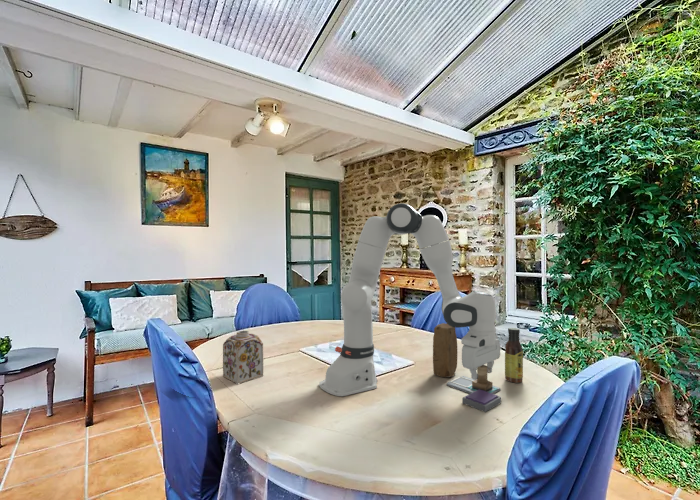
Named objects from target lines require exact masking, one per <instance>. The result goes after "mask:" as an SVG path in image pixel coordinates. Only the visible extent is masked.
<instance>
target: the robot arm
mask: <svg viewBox="0 0 700 500" xmlns="http://www.w3.org/2000/svg"><path fill="white" fill-rule="evenodd" d="M407 234H409V235H410V234H411V235H412V236H414V238H415V240H416V242H417V246H418V248H419V252H420V253H421V256H422V259H423V261H424V262H425V264H426V267H427V268H428V269H429V270H430V271H431V272H432V274H433V275H434V277H435V278H436V280H437V284H438V287H439V290H440V293H441V297H442V302H441V312H442V317H443V319H444V321H445V324H448V325H450V326H452V327H455V329H456V328H459V329H460V328H469V329H468V331H467V332H466V334H465V335H464V336H463V337H461V345H462V348H461V365H462V367H463V368H465V369H468V370H469V372H470V374H471V377H470V378H472V379H474V380H476V379H478V374H477V367H480V366H482V365H486V366H487V374H491V373H493V367H494V365H495V361H496V360H499V359H500V357H501V343H500V340H499V337H498V335H497V333H496V331H497V330H496V325H495V322H496V318H497V312H496V311H497V307H496V301H495V298H494V296H493V295H491V294H490V293H488V292H485V291H480V290H473V291H471V292H470V293H468V294H467V295H464V296H462V295H461V294H460V293H459V289H458V287H457V284H456V281H455V278H454V275H453V260H454V257H453V249H452V243H451V241H450V239H449V235H448V233H447V231H446V229H445V226H444V224H443V222H442V221H441V219H440V218H439V217H438V216H436V215H434V214H426V215H422V214H420V212H418V211H417V210H416V209H415V208H414V207H413V206H411V205H410V204H408V203H403V202H402V203H396V204H394V205H392V206H391V207H390V208H389V210H388V212H387V214H386V216H384V217H383V216H376V215H375V216H370V217H369V218H367V220H366V221H365V223H364V225H363V228H362V230H361V232H360V235H359V237H358V241H357V244H356V248H355V252H354V255H353V258H352V263H351V269H350V275H349V280H348V282H347V284H345V285H344V286H343V288H342V290H341V292H340V301H341V310H342V313H341V314H342V318H343V344H342V346H341V347H340V346H338V345H337V346H336V347H335V348H334V350H335V352H337V353H339V354H340V355H338V357H337V358H336V359H334V361H333V362H332V363H331V365H329V366H328V367H327V369H326V371H325V372H326V373H325V379H324V380H321V381H319V388H320V390H321V389H322V390H323V391H324V392H325V393H328V394H331V395H333V396H336V397H345V396H350V395H353V394H359V393H363V392H366V391H371V390H374V389H377V388H378V385H377V383H378V379H377V375H376V370H375V369H376V368H375V362H374V355H375V344H374V341H373V340H374V339H373V338H374V335H373V334H374V332H373V331H374V330H373V326H374V325H373V324H374V323H373V314H372V313H373V312H372V300H373V299H374V296H375V291H376V288H377V284H378V281H379V276H380V271H381V267H382V264H383V261H384V258H385V255H386V251H387V247H388V244H389V242H390V238H391V237H392V236H393V235H395V236H396V235H398V236H399V235H402V236H403V235H407Z"/></svg>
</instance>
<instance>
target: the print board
mask: <svg viewBox="0 0 700 500" xmlns="http://www.w3.org/2000/svg"><path fill="white" fill-rule="evenodd" d="M472 381H474V379H472V378H471V377H468V376H464V375H461V376H458V377H456V378H454V379H452V380H449V381H448V382H446V386H447V387H448V386H449V387H450V388H453V389H456V390H459V391H463V392H465V393H467V394H471V393H473V392H475V391H477V390H476V389H473V388H472ZM500 391H501V387H499V386H496V385H493V389H491V390H489V391H488V392H489V393H492V394H495V393H497V392H500Z"/></svg>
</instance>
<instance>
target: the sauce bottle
mask: <svg viewBox="0 0 700 500" xmlns="http://www.w3.org/2000/svg"><path fill="white" fill-rule="evenodd" d="M507 333H508V338H507V339H508V340H507V342H506V343H505V346H504V347H505V348H504V349H505V351H504V378H505V380H506V382H507V381H508V382H510V383H513V384H514V383H515V384H519V383H522V382H523V377H524V348H523V347H522V344H521V341H520V333H521V329H520V328H517V327H508V328H507Z"/></svg>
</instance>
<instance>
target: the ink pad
mask: <svg viewBox="0 0 700 500" xmlns="http://www.w3.org/2000/svg"><path fill="white" fill-rule="evenodd" d="M501 403H502V396H499V395H498V394H495V393H494V394H492V393H489V392H486V391H483V390H480V389H479V390H477V391H475V392H473V393H471V394H470V393H468V394H467V395H465V396H463V397H462V404H463V405H467V406H469V407H472V408H474V409H477V410H479V411H481V412H485V413H486V412H488V411H490V410H491V409H493V408H495V407H496V406H498V405H499V404H501Z"/></svg>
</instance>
